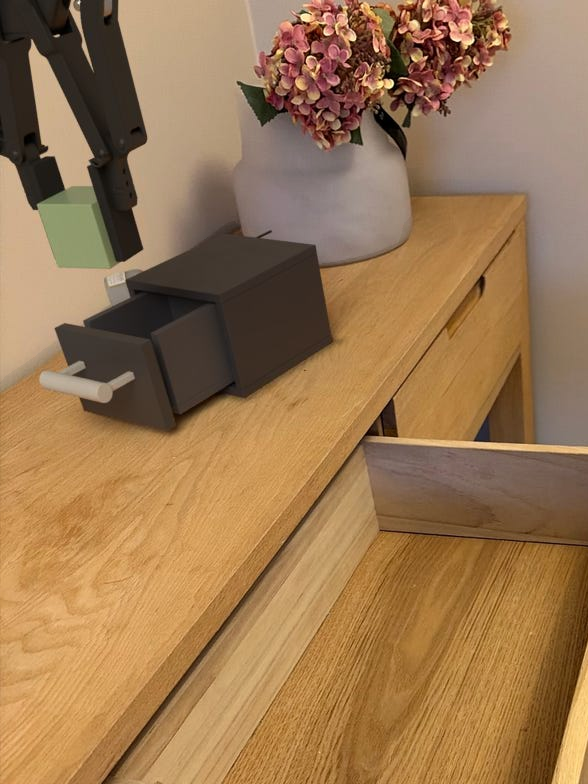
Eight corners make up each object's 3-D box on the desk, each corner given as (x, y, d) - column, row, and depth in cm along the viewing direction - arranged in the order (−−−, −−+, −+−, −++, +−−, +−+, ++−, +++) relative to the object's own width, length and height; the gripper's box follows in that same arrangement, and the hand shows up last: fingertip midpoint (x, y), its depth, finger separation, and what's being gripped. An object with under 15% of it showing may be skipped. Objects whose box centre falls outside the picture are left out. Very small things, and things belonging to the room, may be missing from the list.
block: (91, 247, 76) (71, 185, 73) (142, 248, 75) (124, 185, 72) (57, 268, 73) (35, 204, 70) (110, 269, 72) (90, 204, 69)
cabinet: (244, 397, 91) (219, 294, 85) (154, 378, 96) (124, 279, 90) (332, 341, 100) (315, 244, 93) (245, 326, 104) (224, 233, 98)
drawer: (130, 454, 82) (100, 366, 77) (46, 432, 86) (13, 347, 81) (260, 373, 93) (241, 291, 88) (180, 357, 97) (157, 278, 92)
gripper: (-189, -128, 58) (-31, 269, 73) (65, -152, 54) (178, 275, 69) (-100, -134, 64) (30, 236, 79) (136, -157, 59) (227, 240, 74)
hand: (99, 254), depth 74 cm, fingers closed on block, 4 cm apart
